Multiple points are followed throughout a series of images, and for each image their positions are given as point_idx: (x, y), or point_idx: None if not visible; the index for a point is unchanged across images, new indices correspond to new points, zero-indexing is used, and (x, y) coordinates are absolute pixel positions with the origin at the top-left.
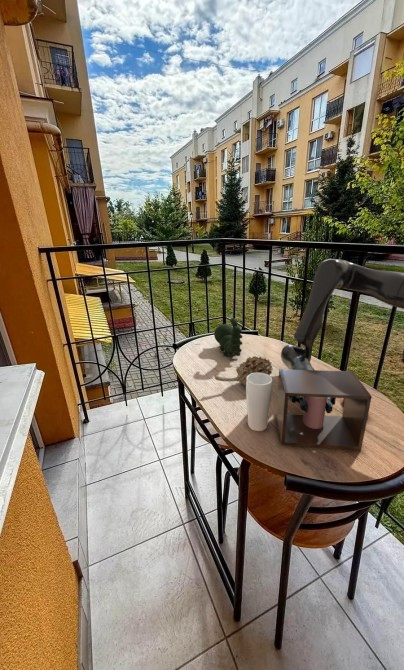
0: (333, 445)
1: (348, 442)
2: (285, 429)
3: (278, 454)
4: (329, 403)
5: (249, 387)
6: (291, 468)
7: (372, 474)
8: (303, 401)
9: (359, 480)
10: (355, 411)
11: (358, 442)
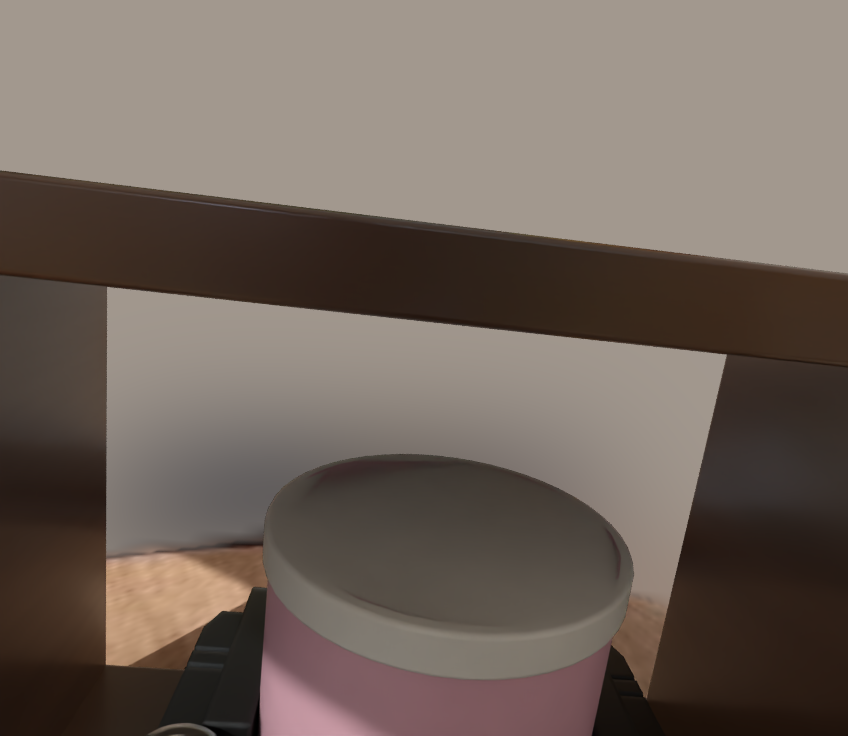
0: None
1: (147, 702)
2: (672, 593)
3: (653, 662)
4: (241, 627)
5: None
6: None
7: (167, 567)
8: (606, 667)
9: (257, 550)
10: (12, 532)
11: (102, 637)
